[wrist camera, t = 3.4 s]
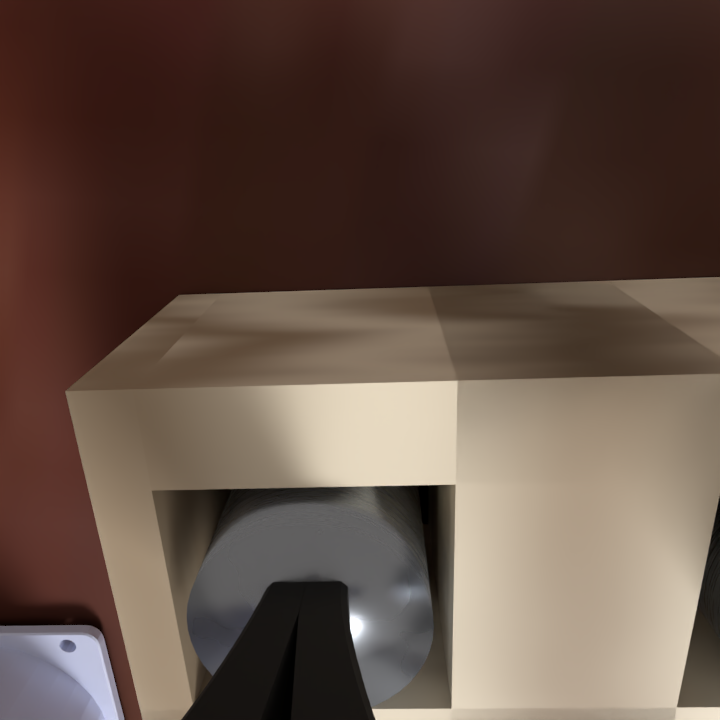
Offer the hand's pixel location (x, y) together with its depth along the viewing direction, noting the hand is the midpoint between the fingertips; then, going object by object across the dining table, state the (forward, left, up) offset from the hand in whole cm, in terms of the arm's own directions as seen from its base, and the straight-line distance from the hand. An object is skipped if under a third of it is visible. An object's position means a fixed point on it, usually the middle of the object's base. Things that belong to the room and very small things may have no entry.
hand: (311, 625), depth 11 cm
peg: (0, 0, -6) cm, 6 cm away
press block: (+5, 0, -6) cm, 8 cm away
